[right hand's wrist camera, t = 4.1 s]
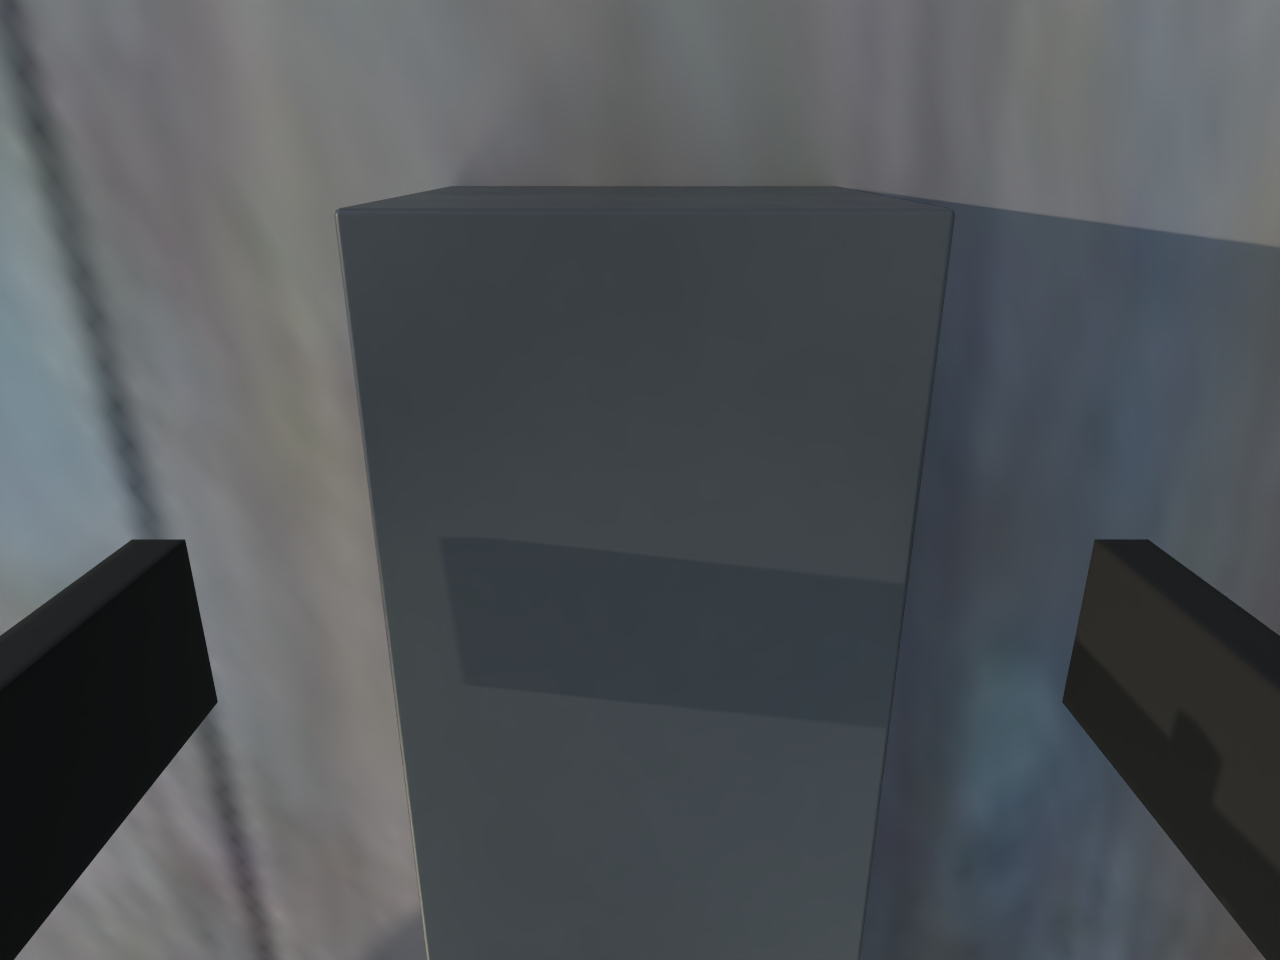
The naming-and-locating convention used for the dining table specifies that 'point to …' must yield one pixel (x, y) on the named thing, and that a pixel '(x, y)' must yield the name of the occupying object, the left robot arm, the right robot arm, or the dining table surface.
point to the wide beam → (643, 551)
